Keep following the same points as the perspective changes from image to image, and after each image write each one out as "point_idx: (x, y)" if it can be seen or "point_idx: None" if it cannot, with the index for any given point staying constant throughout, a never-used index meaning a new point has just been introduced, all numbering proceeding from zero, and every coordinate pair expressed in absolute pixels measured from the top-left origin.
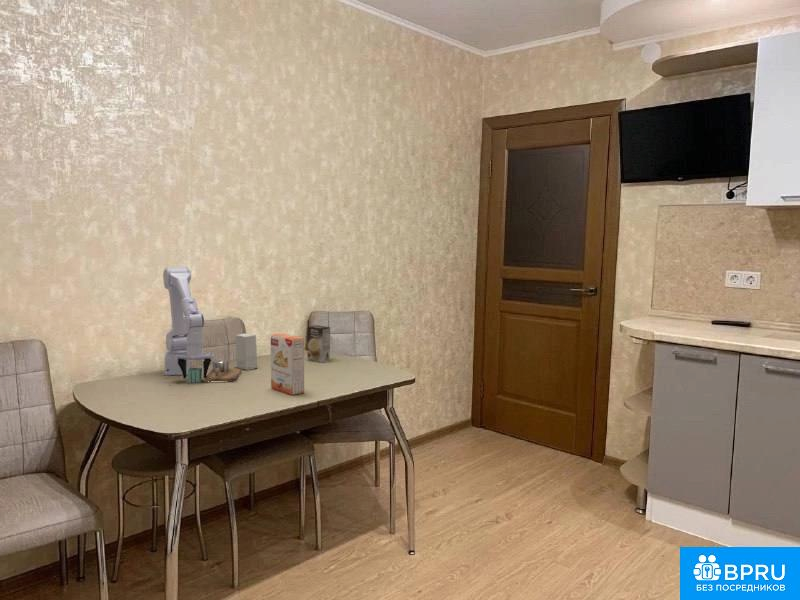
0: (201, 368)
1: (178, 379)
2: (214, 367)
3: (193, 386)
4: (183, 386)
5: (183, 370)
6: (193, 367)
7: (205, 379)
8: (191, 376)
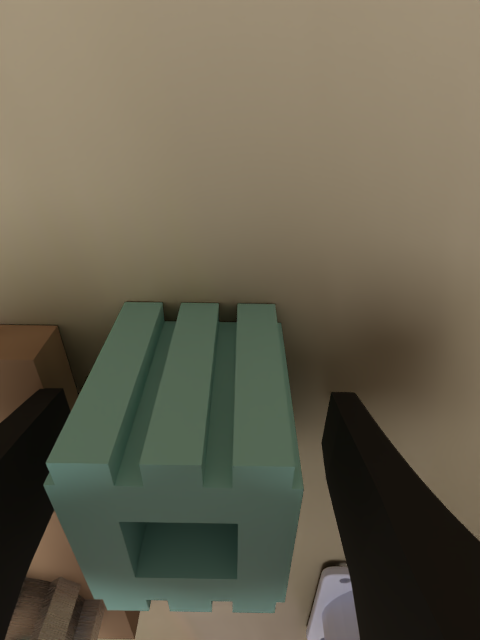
0: (93, 578)
1: (408, 459)
2: (48, 637)
3: (129, 50)
4: (325, 64)
5: (397, 496)
6: (235, 610)
7: (23, 350)
8: (230, 384)
